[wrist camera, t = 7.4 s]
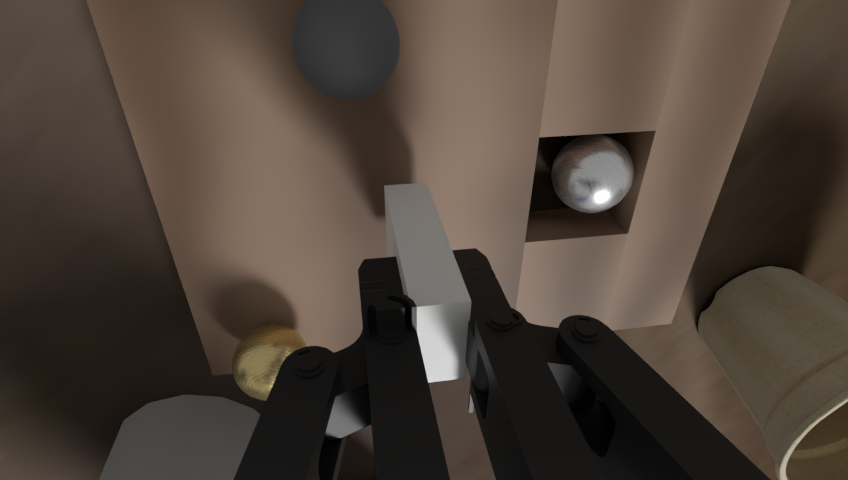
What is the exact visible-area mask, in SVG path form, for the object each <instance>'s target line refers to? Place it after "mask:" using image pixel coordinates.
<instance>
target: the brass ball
mask: <svg viewBox="0 0 848 480" xmlns="http://www.w3.org/2000/svg"><path fill="white" fill-rule="evenodd" d="M303 347H307V345H306V343H305V341H304V339H303V338H302V337H301V335H300V334H299V333H297V332H296V331H295V330H293V329H292V328H290V327H287V326H284V325H280V324H267V325H262V326H259V327H257V328H255V329H253V330H251V331H250V332H248V333H247V334H246V335H245V336H244V337H243V338H242V339H241V340H240V342H239V343H238V345H237V346H236V348H235V351H234V354H233V358H232V372H233V376H234V379H235V381H236V383H237V385H238V386H239V387H240V388H241V390H242V391H244V392H245V393H246V394H247V395H249V396H251V397H253V398H256V399H259V400H265V401H266V400H267V398H268V396H269V393H270V391H271V388H272V386H273V384H274V381H275V379H276V376H277V374H278V372H279V369H280V367H281V364H282V363H283V362H284V360H285V359H286V357H287V356H288V355H290V354H291V353H293V352H294V351H295V350H298V349H301V348H303Z"/></svg>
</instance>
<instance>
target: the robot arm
mask: <svg viewBox="0 0 848 480" xmlns="http://www.w3.org/2000/svg"><path fill="white" fill-rule="evenodd" d="M384 191H385V215H386V238H387V253H388V257H384V258H372V259H364V260H363V262H362V263H361V265H360V267H359V269H358V277H359V289H360V301H361V313H362V324H363V329H362V333H361V335H360V337H359V338H358V339H357V340H356V341H355V342H354V343H353V344H351V345H350V346H348V347H346V348H344V349H342V350H340V351H337V352H332V351H331V350H329V349H327V348H325V347H320V346H307V347H303V348H301V349H298V350H295V351H294V352H293V353H291V354H290V355H288V356H287V357H286V359H285V360H284V362H283V363H282V364H281V367H280V369H279V372H278V374H277V376H276V379H275V381H274V384H273V386H272V388H271V391H270V393H269V396H268V398H267V400H266V403H265V405H264V408H263V410H262V412H261V415H260V417H259V419H258V422H257V424H256V427H255V429H254V431H253V434H252V436H251V439H250V441H249V443H248V446H247V448H246V451H245V453H244V455H243V458H242V460H241V463H240V465H239V467H238V470H237V472H236V475H235V477H234V479H233V480H337V478H338V474H339V469H340V465H341V461H342V456H343V452H344V448H345V444H346V439H347V435H349V434H351V433H353V432H355V431H358V430H360V429H362V428H364V427H366V426H368V425H372V436H373V447H374V458H375V469H376V480H450V478H449V473H448V469H447V465H446V460H445V456H444V451H443V447H442V442H441V438H440V433H439V429H438V424H437V420H436V415H435V411H434V406H433V402H432V397H431V393H430V388H429V384H428V383H430V382H438V381H445V380H453V379H461V378H466V367H468V370H469V374H470V377H471V382H470V394H469V413H471V412H473V405H474V408H475V411H476V414H477V418H478V421H479V424H480V428H481V431H482V434H483V438H484V441H485V444H486V448H487V451H488V454H489V458H490V461H491V464H492V468H493V471H494V474H495V478H496V480H770V479H769V478H768V477H767V476H766V475H765V474H764V473H763V472H762V471H761V470H760V469H759V468H758V467H756V466H755V465H754V464H753V463H752V462H751V461H750V460H749V459H748V458H747V457H746V456H745V455H744V454H743V453H742V452H741V451H739V450H738V449H737V448H736V447H735V446H734V445H733V444H732V443H731V442H730V441H729V440H728V439H727V438H726V437H725V436H724V435H722V434H721V433H720V432H719V431H718V430H717V429H716V428H715V427H714V426H713V425H712V424H711V423H710V422H709V421H708V420H707V419H705V418H704V417H703V416H702V415H701V414H700V413H699V412H698V411H697V410H696V409H695V408H694V407H693V406H692V405H691V404H690V403H688V402H687V401H686V400H685V399H684V398H683V397H682V396H681V395H680V394H679V393H678V392H677V391H676V390H675V389H674V388H673V387H671V386H670V385H669V384H668V383H667V382H666V381H665V380H664V379H663V378H662V377H661V376H660V375H659V374H658V373H657V372H656V371H654V370H653V369H652V368H651V367H650V366H649V365H648V364H647V363H646V362H645V361H644V360H643V359H642V358H641V357H640V356H639V355H637V354H636V353H635V352H634V351H633V350H632V349H631V348H630V347H629V346H628V345H627V344H626V343H625V342H624V341H623V340H622V339H620V338H619V337H618V336H617V335H616V334H615V333H614V332H613V331H612V330H611V329H610V328H609V327H608V326H607V325H605V324H604V323H602V322H601V321H600V320H598V319H595V318H592V317H590V316H584V315H573V316H569V317H567V318H565V319H563V320H562V321H561V323H560V325H559V327H558V328H556V327H548V326H540V325H536V324H532V323H529V322H527V321H526V319H525V318H524V316H523V315H522V314H521V313H520V312H518V311H517V310H515V309H513V308H511V307H510V305H509V303H508V301H507V299H506V297H505V294H504V292H503V290H502V288H501V286H500V284H499V282H498V280H497V278H496V275H495V273H494V271H493V269H492V267H491V265H490V263H489V261H488V259H487V257H486V256H485V255H484V254H483V253H481V252H480V251H479V250H478V249H476V248H472V249H461V250H452V249H451V246H450V243H449V241H448V238H447V235H446V233H445V230H444V228H443V225H442V222H441V220H440V217H439V214H438V212H437V209H436V206H435V204H434V201H433V199H432V196H431V193H430V191H429V188H428V185H427V183H413V184H399V185H384Z"/></svg>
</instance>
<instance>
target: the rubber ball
mask: <svg viewBox="0 0 848 480" xmlns="http://www.w3.org/2000/svg"><path fill="white" fill-rule="evenodd" d="M292 50H293V55H294V58H295V61H296V64H297V66H298V68H299V70H300V72H301V73H302V75H303V76H304V78H305V79H306V80H307V81H308V82H309V83H310V84H311V85H312V86H313V87H314V88H315V89H317V90H318V91H319V92H321V93H323V94H324V95H326V96H329V97H331V98H335V99H338V100H350V101H352V100H359V99H363V98H366V97H369V96H371V95H373V94H374V93H376V92H378V91H379V90H380V89H381V88H383V87H384V86H385V85H386V83H387V82H388V81H389V80H390V78H391V77H392V75H393V73H394V71H395V69H396V66H397V63H398V60H399V54H400V38H399V33H398V29H397V26H396V23H395V21H394V18H393V16H392V15H391V13H390V12H389V10H388V9H387V7H386V6H385V5H384V4H383V3H382V2H381V1H380V0H307V1H306V2H305V3H304V4H303V6H302V7H301V9H300V10H299V12H298V14H297V16H296V18H295V21H294V24H293V29H292Z"/></svg>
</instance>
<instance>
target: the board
mask: <svg viewBox="0 0 848 480" xmlns="http://www.w3.org/2000/svg"><path fill="white" fill-rule="evenodd" d="M86 1H87V4H88V7H89V10H90V13H91V16H92V19H93V22H94V25H95V28H96V31H97V34H98V37H99V40H100V43H101V46H102V49H103V52H104V55H105V58H106V61H107V64H108V66H109V69H110V72H111V75H112V78H113V81H114V84H115V87H116V90H117V93H118V96H119V99H120V102H121V105H122V108H123V111H124V114H125V117H126V120H127V123H128V126H129V129H130V132H131V135H132V138H133V141H134V144H135V147H136V149H137V152H138V155H139V158H140V161H141V164H142V167H143V170H144V173H145V176H146V179H147V182H148V185H149V188H150V191H151V194H152V197H153V200H154V203H155V206H156V209H157V212H158V215H159V218H160V221H161V224H162V227H163V230H164V233H165V235H166V238H167V241H168V244H169V247H170V250H171V253H172V256H173V259H174V262H175V265H176V268H177V271H178V274H179V277H180V280H181V283H182V286H183V289H184V292H185V295H186V298H187V301H188V304H189V307H190V310H191V313H192V316H193V318H194V321H195V324H196V327H197V330H198V333H199V336H200V339H201V342H202V345H203V348H204V351H205V354H206V357H207V360H208V363H209V366H210V369H211V372H212V375H213V376H216V375H225V374H233V372H232V358H233V354H234V351H235V348H236V346H237V345H238V343H239V342H240V340H241V339H242V338H243V337H244V336H245V335H246V334H247V333H248V332H250V331H251V330H253V329H255V328H257V327H259V326H262V325H267V324H280V325H284V326H287V327H290V328H292V329H293V330H295V331H296V332H297V333H299V334H300V335H301V337H302V338H303V339H304V341H305V343H306V345H307V346H320V347H325V348H327V349H329V350H331V351H332V352H337V351H340V350H342V349H344V348H346V347H348V346H350V345H351V344H353V343H354V342H355V341H356V340H357V339H358V338H359V337H360V335H361V333H362V329H363V324H362V313H361V301H360V289H359V277H358V269H359V267H360V265H361V263H362V262H363V260H364V259H372V258H384V257H388V253H387V238H386V215H385V191H384V185H399V184H413V183H427V185H428V188H429V191H430V193H431V196H432V199H433V201H434V204H435V206H436V209H437V212H438V214H439V217H440V220H441V222H442V225H443V228H444V230H445V233H446V235H447V238H448V241H449V243H450V246H451V249H452V250H461V249H472V248H476V249H478V250H479V251H480V252H481V253H483V254H484V255H485V256H486V257H487V259H488V261H489V263H490V265H491V267H492V269H493V271H494V273H495V275H496V278H497V280H498V282H499V284H500V286H501V288H502V290H503V292H504V294H505V297H506V299H507V301H508V303H509V305H510V307H511V308H513V309H515V310H517V311H518V312H520V313H521V314H522V315H523V316H524V318H525V319H526V321H527V322H529V323H532V324H536V325H540V326H548V327H556V328H558V327H559V325H560V323H561V321H562V320H563V319H565V318H567V317H569V316H573V315H584V316H590V317H592V318H595V319H598V320H600V321H601V322H602V323H604V324H605V325H607V326H608V327H609V328H610V329H611V330H620V329H629V328H638V327H646V326H655V325H664V324H671V323H672V320H673V317H674V315H675V312H676V309H677V307H678V304H679V301H680V298H681V296H682V293H683V290H684V288H685V285H686V282H687V280H688V277H689V274H690V271H691V269H692V266H693V263H694V261H695V258H696V255H697V253H698V250H699V247H700V244H701V242H702V239H703V236H704V234H705V231H706V228H707V226H708V223H709V220H710V217H711V215H712V212H713V209H714V207H715V204H716V201H717V198H718V196H719V193H720V190H721V188H722V185H723V182H724V180H725V177H726V174H727V171H728V169H729V166H730V163H731V161H732V158H733V155H734V153H735V150H736V147H737V144H738V142H739V139H740V136H741V134H742V131H743V128H744V126H745V123H746V120H747V117H748V115H749V112H750V109H751V107H752V104H753V101H754V99H755V96H756V93H757V90H758V88H759V85H760V82H761V80H762V77H763V74H764V72H765V69H766V66H767V63H768V61H769V58H770V55H771V53H772V50H773V47H774V45H775V42H776V39H777V36H778V34H779V31H780V28H781V26H782V23H783V20H784V17H785V15H786V12H787V9H788V7H789V4H790V1H791V0H380V1H381V2H382V3H383V4H384V5H385V6H386V7H387V9H388V10H389V12H390V13H391V15H392V16H393V18H394V21H395V23H396V26H397V29H398V33H399V38H400V54H399V60H398V63H397V66H396V69H395V71H394V73H393V75H392V77H391V78H390V80H389V81H388V82H387V83H386V85H385V86H384V87H383V88H381V89H380V90H379V91H378V92H376V93H374V94H373V95H371V96H369V97H366V98H363V99H359V100H352V101H350V100H338V99H335V98H331V97H329V96H326V95H324V94H323V93H321V92H319V91H318V90H317V89H315V88H314V87H313V86H312V85H311V84H310V83H309V82H308V81H307V80H306V79H305V78H304V76H303V75H302V73H301V72H300V70H299V68H298V66H297V64H296V61H295V58H294V55H293V50H292V29H293V24H294V21H295V18H296V16H297V14H298V12H299V10H300V9H301V7H302V6H303V4H304V3H305V2H306V1H307V0H86ZM607 133H618V136H617V141H618V142H619V143H621V144H622V145H623V146H624V147H625V148H626V150H627V151H628V153H629V154H630V157H631V159H632V162H633V168H634V176H633V181H632V185H631V187H630V189H629V191H628V193H627V194H626V196H625V197H624V198H623V199H622V200H621V201H620V202H619V203H618V204H616V205H615V206H613V207H611V208H610V209H607V210H604V211H601V212H595V213H587V212H581V211H577V210H575V209H573V208H563V209H550V210H537V211H529V209H530V201H531V194H532V187H533V179H534V172H535V165H536V157H537V150H538V143H539V137H555V136H572V135H589V134H607Z"/></svg>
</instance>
